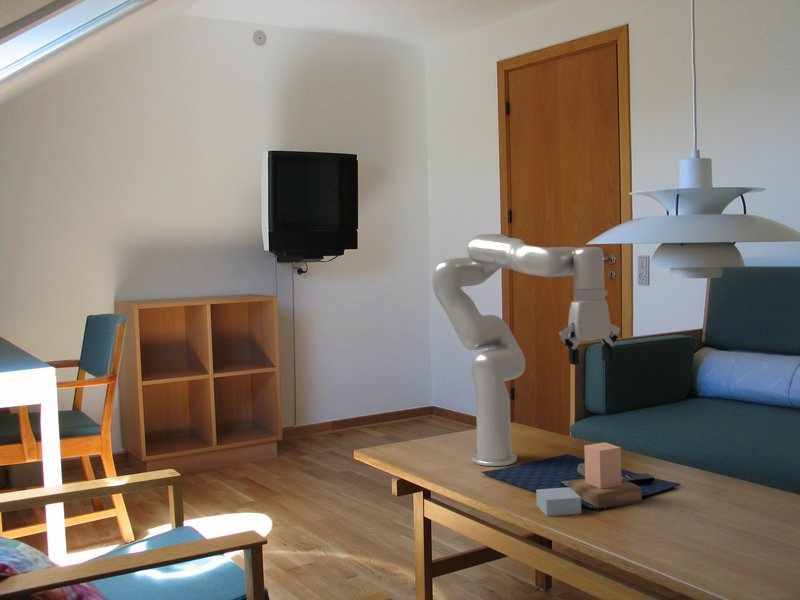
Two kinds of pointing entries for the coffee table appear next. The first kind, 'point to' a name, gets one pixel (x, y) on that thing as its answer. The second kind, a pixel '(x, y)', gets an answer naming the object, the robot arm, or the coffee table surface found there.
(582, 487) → the walnut block
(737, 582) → the coffee table surface
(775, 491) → the coffee table surface
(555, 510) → the slate block
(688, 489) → the coffee table surface
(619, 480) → the terracotta block
